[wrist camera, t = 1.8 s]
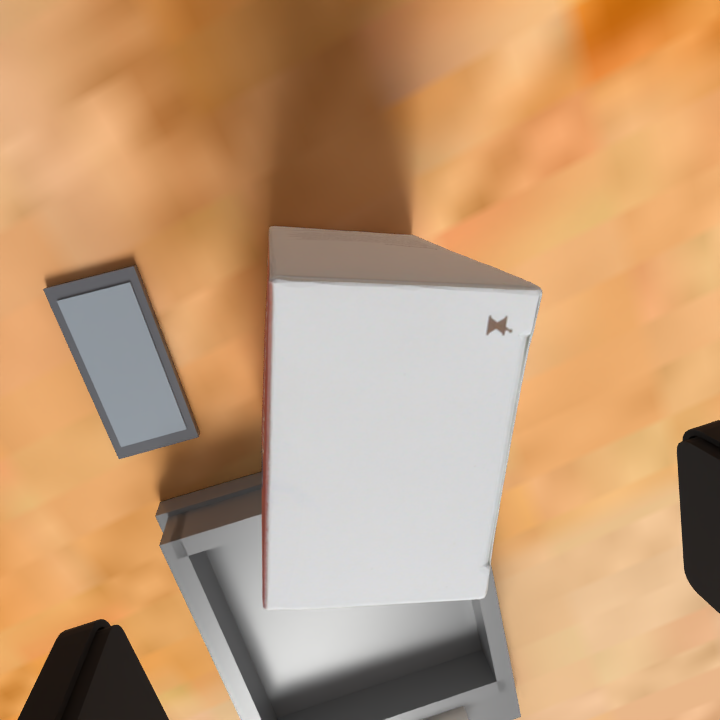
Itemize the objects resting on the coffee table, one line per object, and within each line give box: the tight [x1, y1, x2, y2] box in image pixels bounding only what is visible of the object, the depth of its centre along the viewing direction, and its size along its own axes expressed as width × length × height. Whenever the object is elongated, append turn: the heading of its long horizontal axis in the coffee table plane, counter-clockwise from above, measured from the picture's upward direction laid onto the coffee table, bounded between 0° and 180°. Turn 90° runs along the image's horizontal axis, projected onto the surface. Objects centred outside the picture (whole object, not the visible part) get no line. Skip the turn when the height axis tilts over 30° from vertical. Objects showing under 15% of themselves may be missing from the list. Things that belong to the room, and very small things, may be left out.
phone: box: [43, 265, 200, 459], centre depth 20 cm, size 7×3×1 cm, turn 13°
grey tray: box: [156, 472, 521, 720], centre depth 24 cm, size 18×13×4 cm
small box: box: [262, 226, 542, 610], centre depth 16 cm, size 8×6×10 cm
